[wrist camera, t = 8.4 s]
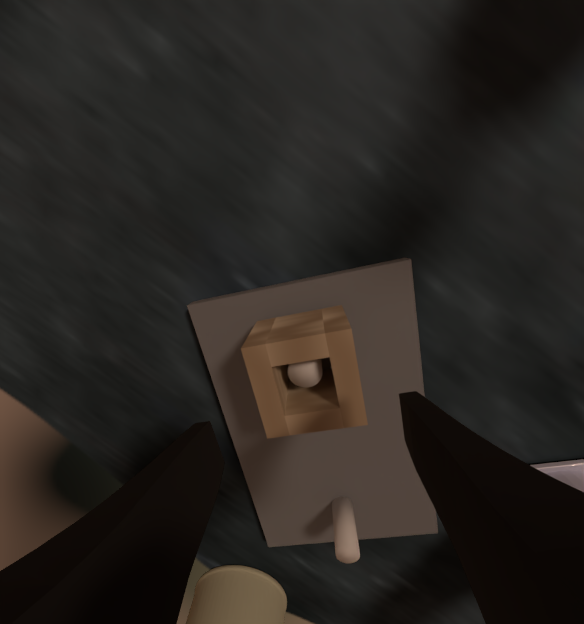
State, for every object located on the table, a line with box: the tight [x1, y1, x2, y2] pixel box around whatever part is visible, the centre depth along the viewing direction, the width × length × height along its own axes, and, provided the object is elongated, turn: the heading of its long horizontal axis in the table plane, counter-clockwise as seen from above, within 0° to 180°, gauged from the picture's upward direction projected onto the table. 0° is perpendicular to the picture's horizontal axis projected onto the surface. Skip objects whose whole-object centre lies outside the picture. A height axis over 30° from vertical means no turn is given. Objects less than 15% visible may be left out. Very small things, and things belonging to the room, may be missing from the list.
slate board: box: [187, 258, 438, 563], centre depth 18 cm, size 14×22×5 cm, turn 12°
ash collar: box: [241, 305, 368, 439], centre depth 15 cm, size 5×5×4 cm
